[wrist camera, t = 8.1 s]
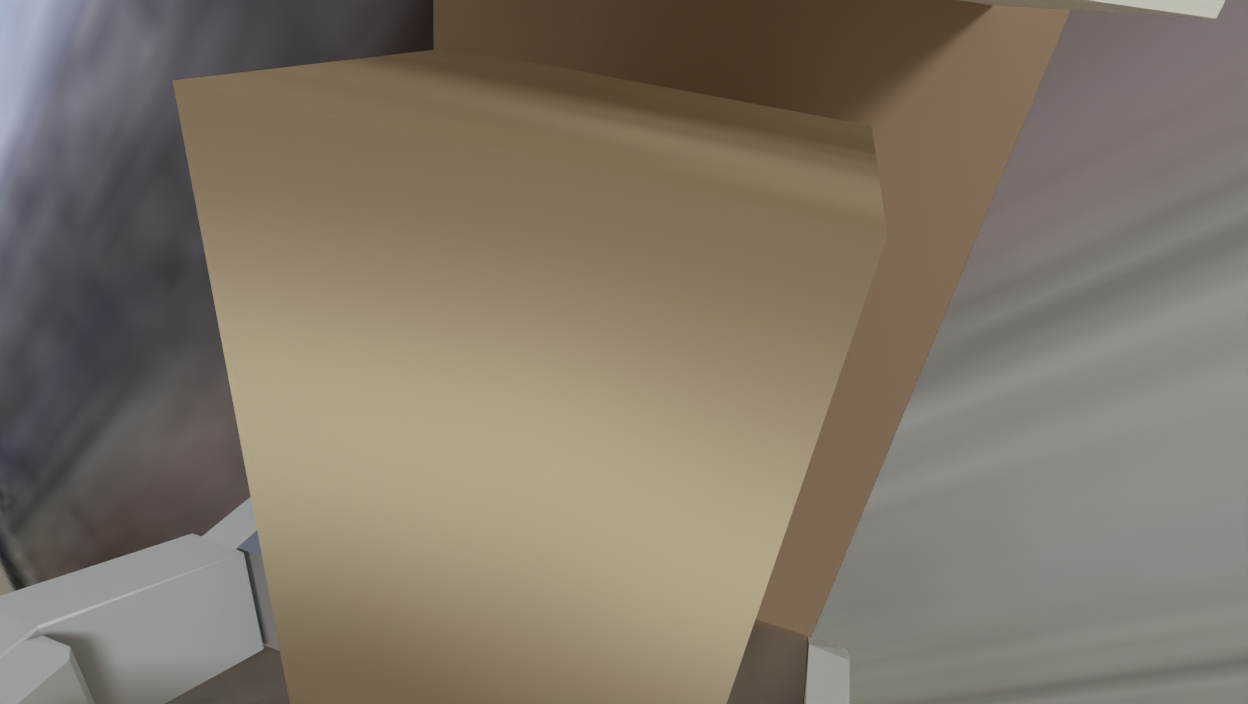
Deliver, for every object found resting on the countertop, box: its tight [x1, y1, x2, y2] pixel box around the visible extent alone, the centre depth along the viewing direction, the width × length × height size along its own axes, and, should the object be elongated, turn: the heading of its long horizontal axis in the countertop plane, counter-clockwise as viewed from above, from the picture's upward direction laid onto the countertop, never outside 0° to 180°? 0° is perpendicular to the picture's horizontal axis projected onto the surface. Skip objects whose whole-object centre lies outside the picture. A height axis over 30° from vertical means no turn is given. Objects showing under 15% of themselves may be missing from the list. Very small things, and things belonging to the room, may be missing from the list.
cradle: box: [433, 0, 1225, 637], centre depth 12 cm, size 20×10×8 cm, turn 172°
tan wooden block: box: [173, 47, 887, 704], centre depth 9 cm, size 13×5×4 cm, turn 172°
